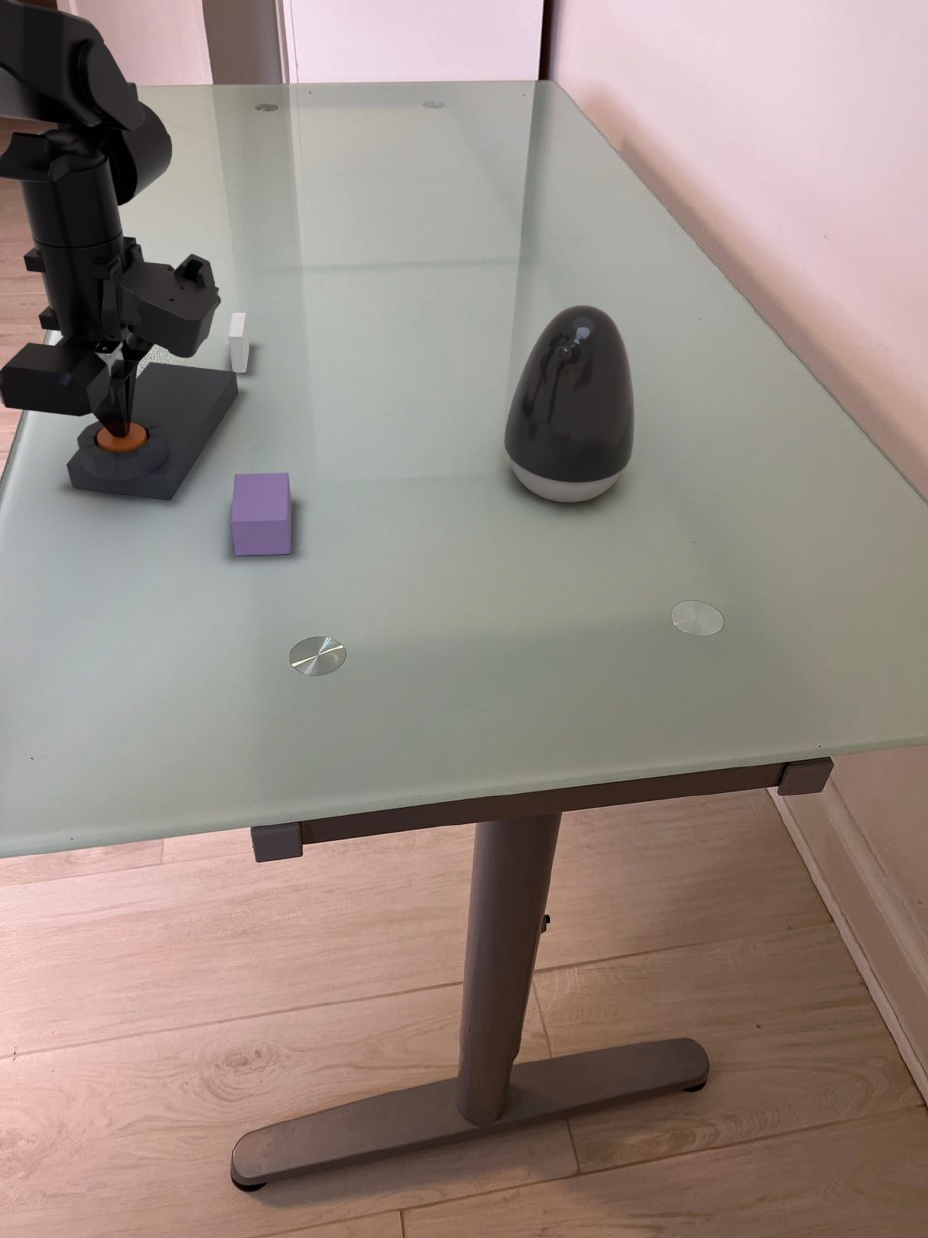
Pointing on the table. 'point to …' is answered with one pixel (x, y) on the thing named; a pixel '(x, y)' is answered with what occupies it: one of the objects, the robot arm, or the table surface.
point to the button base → (158, 432)
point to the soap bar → (261, 514)
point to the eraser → (239, 342)
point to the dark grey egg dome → (573, 408)
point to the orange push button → (122, 439)
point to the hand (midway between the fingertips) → (121, 434)
